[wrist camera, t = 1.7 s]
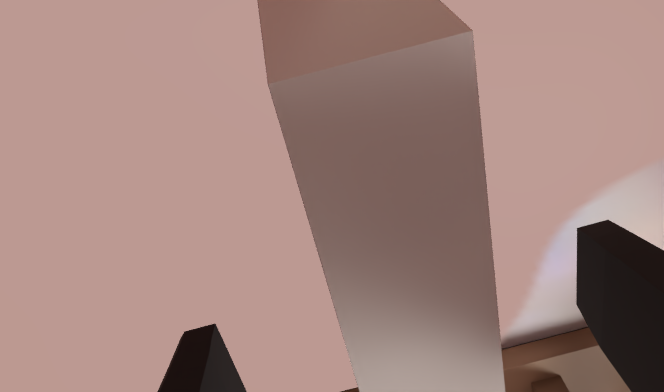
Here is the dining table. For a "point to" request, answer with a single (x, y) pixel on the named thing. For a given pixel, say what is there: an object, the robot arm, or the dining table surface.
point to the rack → (559, 366)
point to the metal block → (392, 184)
